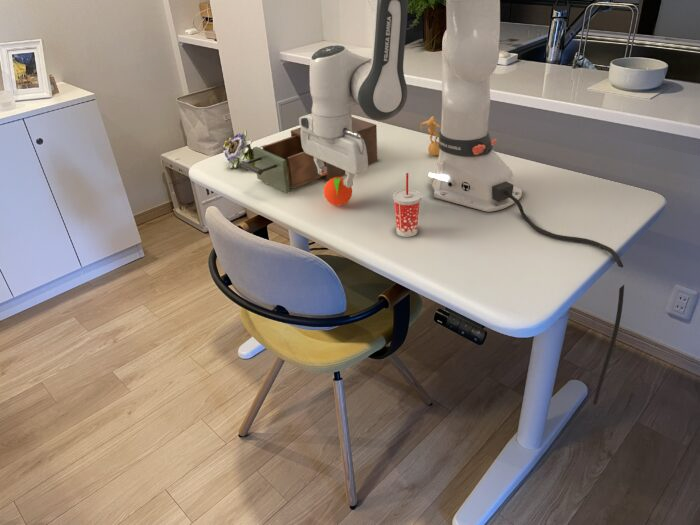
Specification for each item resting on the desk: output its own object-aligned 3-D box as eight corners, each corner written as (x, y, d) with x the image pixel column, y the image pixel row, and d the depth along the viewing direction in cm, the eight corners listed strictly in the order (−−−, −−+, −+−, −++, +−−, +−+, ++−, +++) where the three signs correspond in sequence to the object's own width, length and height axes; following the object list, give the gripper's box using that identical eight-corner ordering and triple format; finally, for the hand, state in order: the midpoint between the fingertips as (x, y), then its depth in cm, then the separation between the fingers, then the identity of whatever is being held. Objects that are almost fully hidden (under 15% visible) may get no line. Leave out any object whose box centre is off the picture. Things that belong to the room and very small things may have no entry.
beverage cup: (426, 230, 122) (428, 172, 114) (409, 241, 118) (409, 182, 110) (404, 222, 125) (404, 165, 118) (387, 232, 122) (386, 174, 114)
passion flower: (236, 185, 160) (212, 150, 158) (265, 167, 165) (241, 133, 163) (248, 174, 150) (222, 137, 148) (278, 156, 155) (253, 119, 153)
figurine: (451, 155, 156) (453, 114, 149) (440, 163, 152) (442, 121, 146) (426, 150, 160) (427, 109, 154) (415, 157, 157) (415, 116, 150)
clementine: (352, 212, 131) (351, 185, 127) (324, 213, 131) (321, 186, 127) (353, 197, 137) (351, 170, 133) (325, 198, 138) (323, 172, 134)
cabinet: (327, 181, 146) (324, 143, 140) (294, 166, 155) (290, 130, 150) (377, 160, 156) (376, 124, 150) (344, 148, 165) (341, 113, 159)
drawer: (267, 201, 136) (262, 168, 131) (239, 185, 145) (233, 154, 140) (338, 172, 148) (336, 141, 143) (308, 159, 157) (305, 129, 152)
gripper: (374, 131, 118) (374, 189, 125) (315, 110, 131) (319, 164, 138) (352, 138, 114) (354, 198, 122) (294, 116, 127) (299, 171, 135)
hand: (335, 180), depth 130 cm, fingers open, 8 cm apart
